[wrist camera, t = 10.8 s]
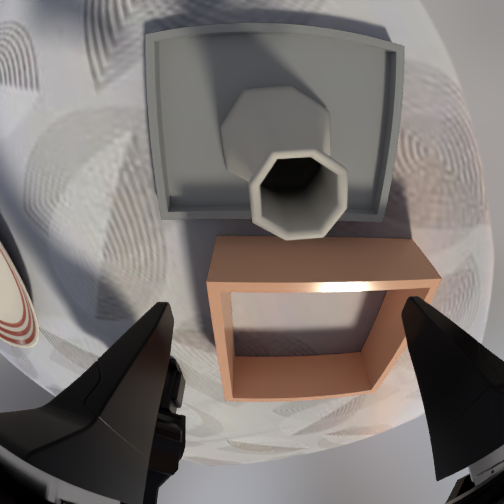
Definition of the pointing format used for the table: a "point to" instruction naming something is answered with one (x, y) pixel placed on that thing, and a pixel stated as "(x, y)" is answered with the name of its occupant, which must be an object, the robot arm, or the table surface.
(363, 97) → the grey tray
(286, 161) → the flask
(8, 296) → the dinner plate
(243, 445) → the table surface
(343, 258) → the terracotta box
